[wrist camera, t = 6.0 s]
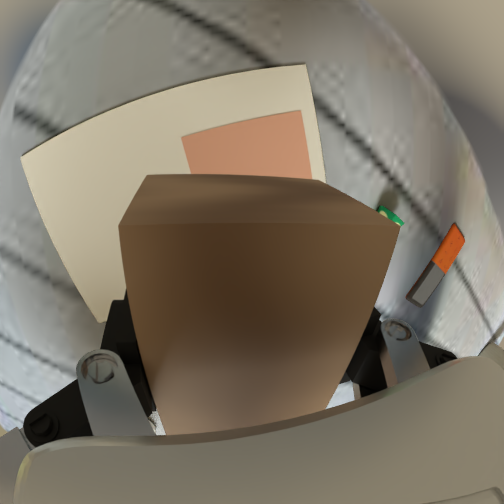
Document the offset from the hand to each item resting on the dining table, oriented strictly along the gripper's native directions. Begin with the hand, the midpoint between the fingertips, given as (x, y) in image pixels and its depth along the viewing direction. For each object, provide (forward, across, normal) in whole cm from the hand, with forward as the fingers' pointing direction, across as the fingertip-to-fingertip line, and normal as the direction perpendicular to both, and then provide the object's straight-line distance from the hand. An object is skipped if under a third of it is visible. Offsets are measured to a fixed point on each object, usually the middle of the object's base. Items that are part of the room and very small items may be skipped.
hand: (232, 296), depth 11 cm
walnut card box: (0, 0, 0) cm, 0 cm away
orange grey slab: (+17, -38, +10) cm, 43 cm away
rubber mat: (+16, +2, +1) cm, 16 cm away
